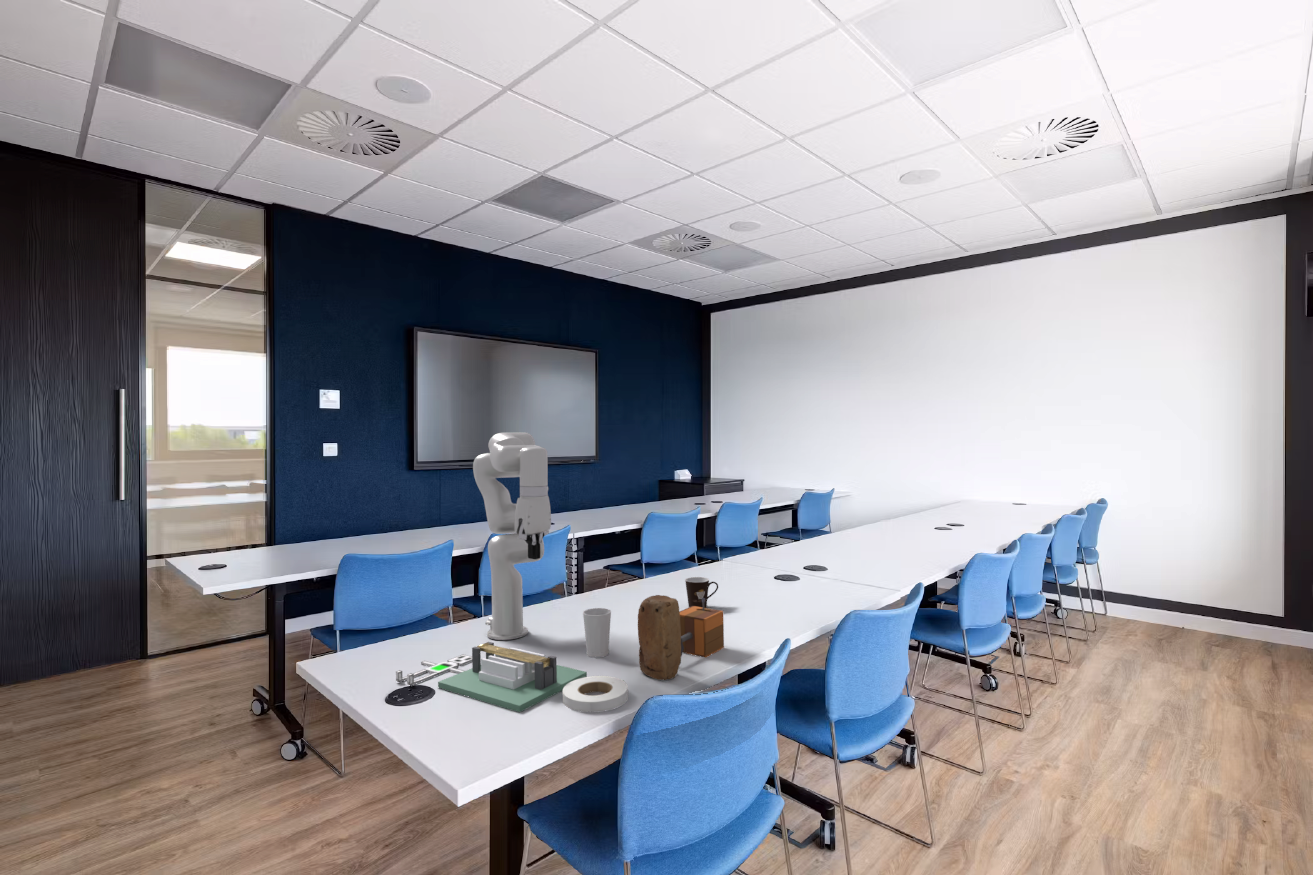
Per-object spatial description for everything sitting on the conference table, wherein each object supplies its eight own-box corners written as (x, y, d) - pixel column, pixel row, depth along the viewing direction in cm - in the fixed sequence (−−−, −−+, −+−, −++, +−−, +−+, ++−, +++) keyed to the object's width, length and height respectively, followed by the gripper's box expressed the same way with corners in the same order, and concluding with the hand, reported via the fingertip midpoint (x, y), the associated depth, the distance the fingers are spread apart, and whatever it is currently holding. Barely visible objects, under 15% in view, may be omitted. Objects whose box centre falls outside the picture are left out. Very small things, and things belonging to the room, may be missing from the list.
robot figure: (424, 692, 157) (490, 664, 176) (424, 679, 157) (490, 652, 176) (382, 680, 166) (449, 654, 185) (382, 667, 166) (449, 643, 185)
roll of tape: (594, 719, 140) (594, 706, 140) (549, 701, 150) (549, 689, 150) (641, 697, 152) (641, 685, 152) (596, 682, 162) (596, 670, 162)
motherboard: (438, 687, 159) (437, 656, 159) (509, 658, 179) (508, 631, 179) (519, 712, 144) (518, 678, 144) (586, 677, 164) (586, 647, 164)
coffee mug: (684, 610, 227) (683, 582, 227) (687, 603, 235) (686, 576, 235) (717, 611, 225) (716, 582, 225) (718, 604, 233) (718, 577, 233)
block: (684, 675, 164) (683, 598, 164) (664, 684, 158) (662, 604, 159) (654, 666, 171) (652, 591, 171) (634, 673, 166) (632, 597, 166)
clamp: (654, 661, 175) (653, 609, 175) (693, 641, 192) (692, 594, 192) (687, 669, 169) (686, 615, 169) (724, 648, 185) (723, 598, 185)
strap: (476, 652, 166) (476, 645, 166) (485, 649, 169) (485, 641, 169) (541, 668, 154) (541, 660, 154) (549, 664, 157) (549, 656, 157)
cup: (607, 659, 177) (606, 616, 177) (580, 657, 179) (579, 614, 179) (614, 649, 185) (614, 608, 185) (588, 648, 187) (587, 607, 187)
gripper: (542, 488, 183) (543, 551, 184) (503, 493, 171) (504, 561, 172) (562, 490, 179) (562, 555, 180) (523, 495, 167) (524, 565, 168)
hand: (534, 558), depth 176 cm, fingers closed
